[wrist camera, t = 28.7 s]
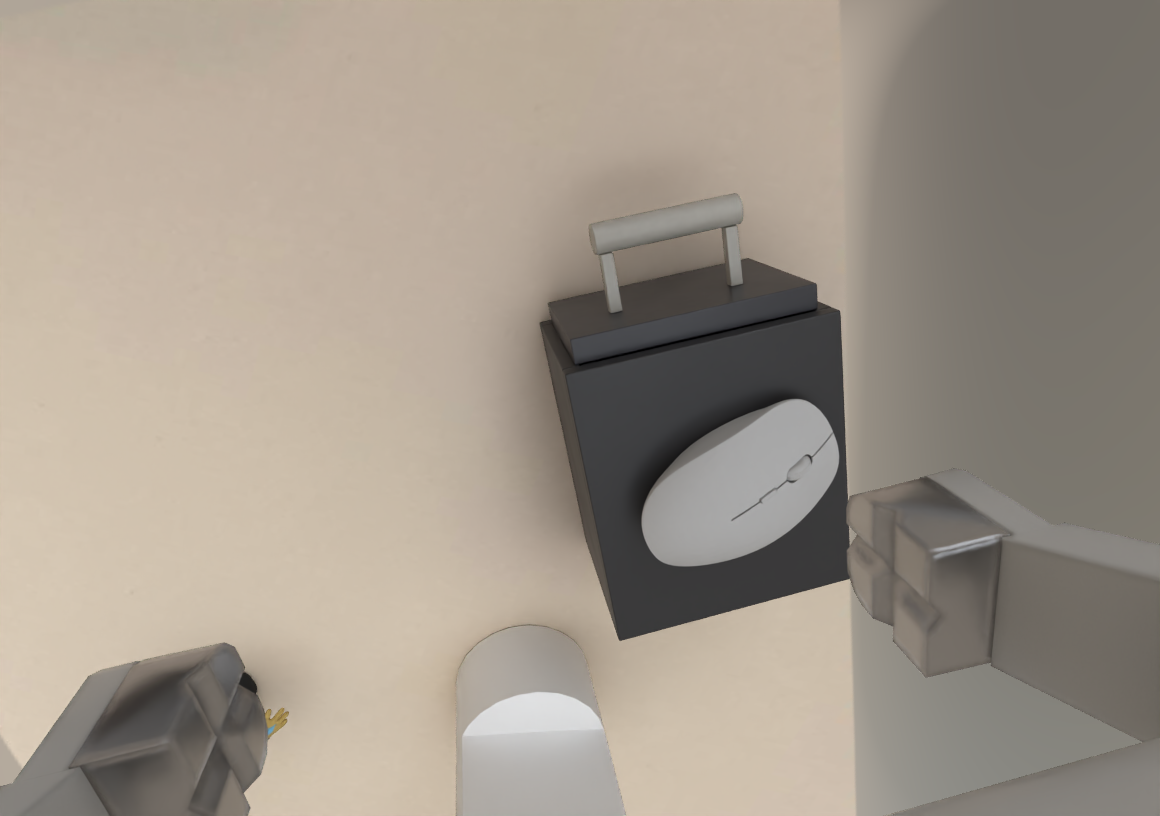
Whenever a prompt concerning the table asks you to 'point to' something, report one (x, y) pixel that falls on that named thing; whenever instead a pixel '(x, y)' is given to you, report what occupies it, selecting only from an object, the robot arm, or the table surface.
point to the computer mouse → (741, 485)
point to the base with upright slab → (531, 730)
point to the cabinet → (667, 428)
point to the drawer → (674, 288)
